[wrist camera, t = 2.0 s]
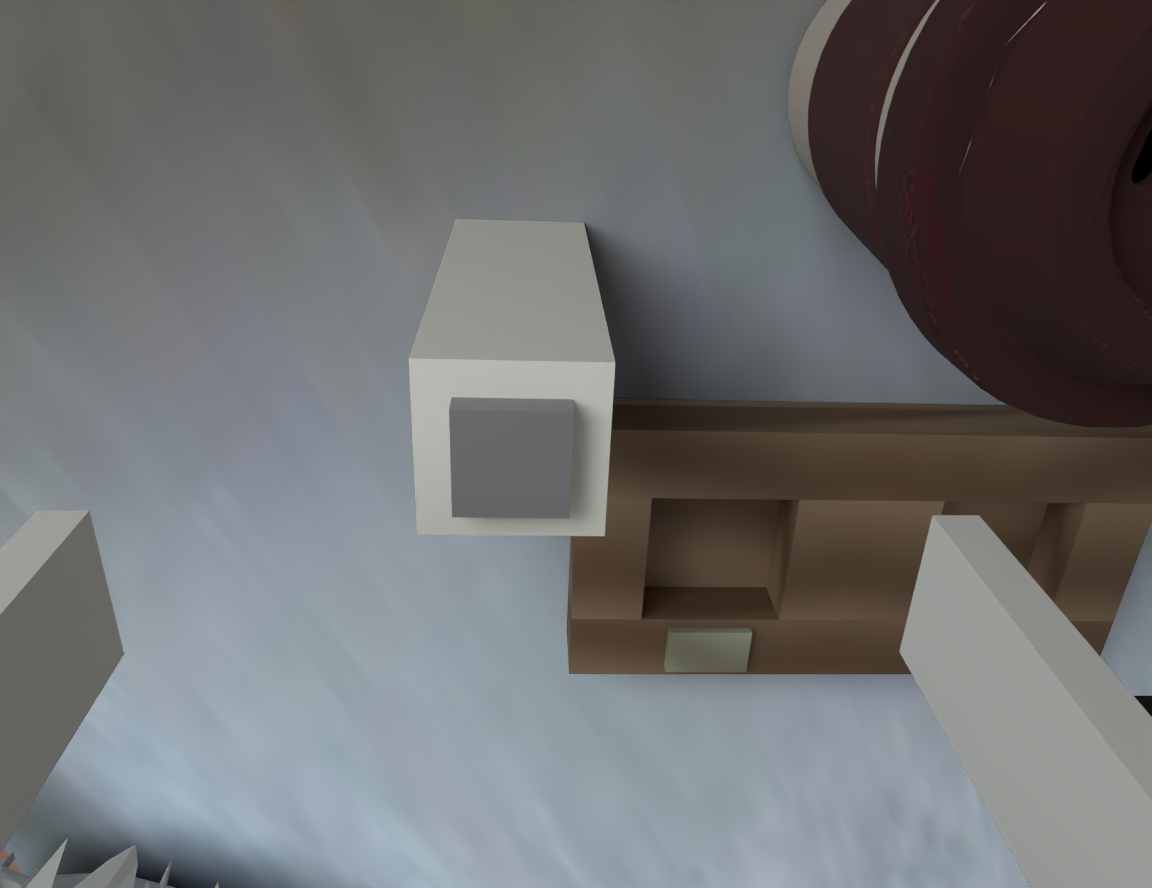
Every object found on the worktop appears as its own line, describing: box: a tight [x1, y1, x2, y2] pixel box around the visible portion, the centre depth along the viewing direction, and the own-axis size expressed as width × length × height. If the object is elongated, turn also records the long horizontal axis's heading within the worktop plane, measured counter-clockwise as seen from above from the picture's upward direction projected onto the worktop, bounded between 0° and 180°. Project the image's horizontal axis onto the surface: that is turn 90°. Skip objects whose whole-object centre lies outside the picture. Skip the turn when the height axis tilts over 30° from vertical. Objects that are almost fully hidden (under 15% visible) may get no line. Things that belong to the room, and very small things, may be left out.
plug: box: [409, 219, 615, 536], centre depth 23 cm, size 4×4×13 cm
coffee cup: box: [788, 0, 1152, 428], centre depth 20 cm, size 10×10×15 cm
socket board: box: [567, 399, 1152, 674], centre depth 32 cm, size 10×20×3 cm, turn 88°
